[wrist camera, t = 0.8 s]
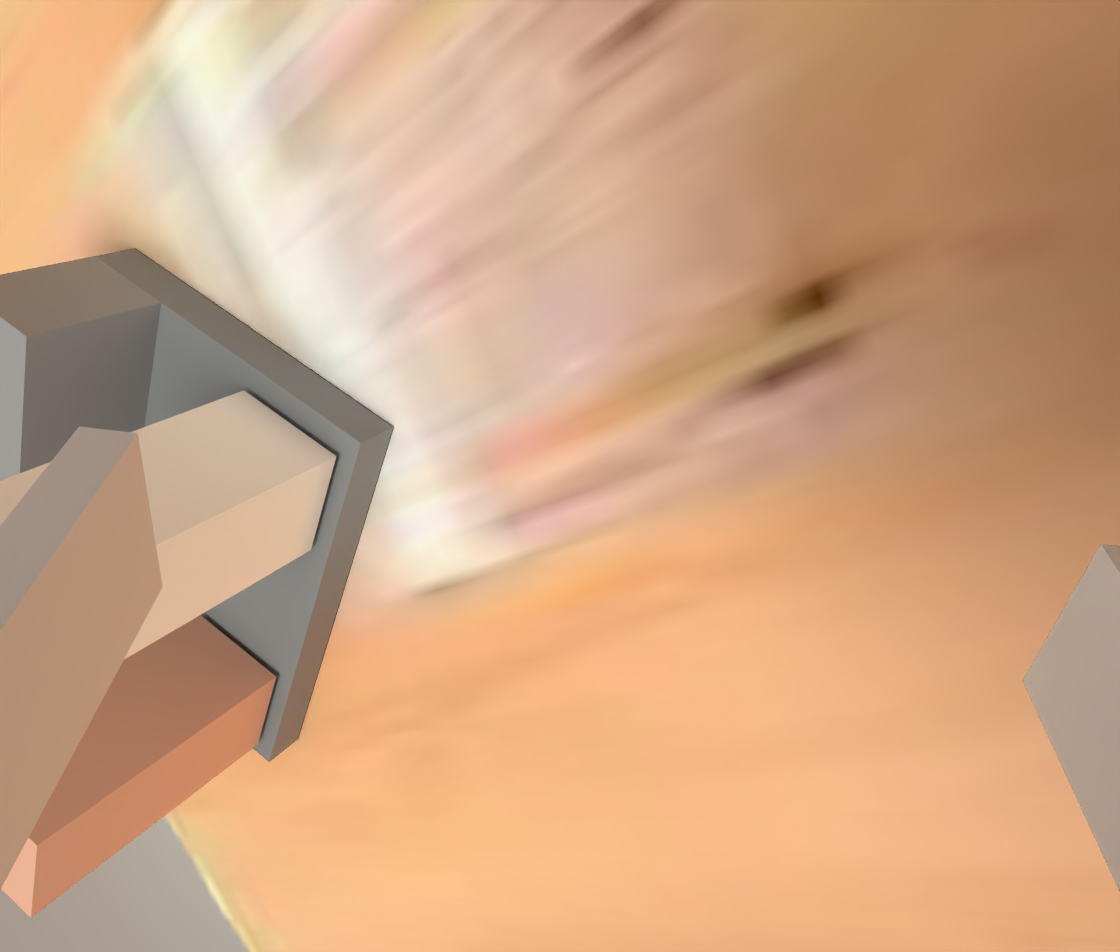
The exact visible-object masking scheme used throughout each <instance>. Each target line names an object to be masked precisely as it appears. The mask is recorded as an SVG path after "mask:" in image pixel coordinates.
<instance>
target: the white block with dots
mask: <svg viewBox="0 0 1120 952" xmlns="http://www.w3.org/2000/svg"><path fill="white" fill-rule="evenodd" d="M132 433H138V438H139V444H140V450H141V456H142V463H143V469H144V475H145V481H146V487H147V493H148V499H149V506H150V512H151V518H152V524H153V530H154V536H155V542H156V549H157V555H158V561H159V567H160V573H161V579H162V585H163V587H162V589H161V591H160V593H159V595H158V597H157V599H156V600H155V602H154V604H153V606H152V608H151V610H150V612H149V613H148V615H147V617H146V619H145V621H144V623H143V625H142V626H141V628H140V630H139V632H138V634H137V636H136V638H135V640H134V641H133V643H132V645H131V647H130V649H129V651H128V653H127V654H126V656H125V658H124V659H126V658H128V657H129V656H131V655H133V654H135V653H136V652H138V651H140V650H141V649H143V648H145V647H147V646H148V645H150V644H152V643H153V642H155V641H157V640H158V639H160V638H162V637H164V636H165V635H167V634H169V633H170V632H172V631H174V630H175V629H177V628H179V627H181V626H182V625H184V624H186V623H187V622H189V621H191V620H193V619H194V618H196V617H198V616H199V615H201V614H203V613H204V612H206V611H208V610H210V609H211V608H213V607H215V606H216V605H218V604H220V603H222V602H223V601H225V600H227V599H228V598H230V597H232V596H233V595H235V594H237V593H239V592H240V591H242V590H244V589H245V588H247V587H249V586H251V585H252V584H254V583H256V582H257V581H259V580H261V579H262V578H264V577H266V576H268V575H269V574H271V573H273V572H274V571H276V570H278V569H279V568H281V567H283V566H285V565H286V564H288V563H290V562H291V561H293V560H295V559H297V558H298V557H300V556H302V555H303V554H305V553H307V552H308V551H310V550H311V548H312V544H313V540H314V537H315V533H316V529H317V526H318V522H319V518H320V515H321V511H322V507H323V504H324V500H325V496H326V493H327V489H328V485H329V482H330V478H331V474H332V471H333V467H334V463H335V460H336V456H335V455H334V454H333V453H331V452H330V451H328V450H327V449H326V448H324V447H323V446H321V445H320V444H319V443H317V442H316V441H314V440H313V439H312V438H310V437H309V436H307V435H306V434H305V433H303V432H302V431H300V430H299V429H298V428H296V427H295V426H293V425H292V424H291V423H289V422H288V421H286V420H285V419H284V418H282V417H281V416H279V415H278V414H277V413H275V412H274V411H272V410H271V409H270V408H268V407H267V406H265V405H264V404H263V403H261V402H260V401H258V400H257V399H256V398H254V397H253V396H251V395H250V394H249V393H247V392H246V391H244V390H243V391H241V392H238V393H235V394H233V395H230V396H227V397H224V398H222V399H219V400H216V401H214V402H211V403H208V404H206V405H203V406H200V407H197V408H195V409H192V410H189V411H187V412H184V413H181V414H179V415H176V416H173V417H170V418H168V419H165V420H162V421H160V422H157V423H154V424H152V425H149V426H146V427H144V428H141V429H138V430H135V431H133V432H132ZM49 464H50V462H49V463H46V464H44V465H41V466H38V467H36V468H33V469H30V470H28V471H25V472H22V473H19V474H17V475H14V476H11V477H9V478H6V479H3V480H1V481H0V525H1V524H2V523H3V522H4V520H5V519H6V518H7V517H8V515H9V514H10V513H11V512H12V510H13V509H14V508H15V507H16V505H17V504H18V503H19V501H20V500H21V499H22V498H23V496H24V495H25V494H26V493H27V491H28V490H29V489H30V488H31V486H32V485H33V484H34V483H35V481H36V480H37V479H38V478H39V476H40V475H41V474H42V472H43V471H44V470H45V469H46V467H47V466H48V465H49Z"/></svg>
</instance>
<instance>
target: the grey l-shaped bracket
mask: <svg viewBox="0 0 1120 952" xmlns="http://www.w3.org/2000/svg"><path fill="white" fill-rule="evenodd" d="M243 390H244V391H246V392H247V393H249V394H250V395H251V396H253V397H254V398H256V399H257V400H258V401H260V402H261V403H263V404H264V405H265V406H267V407H268V408H270V409H271V410H272V411H274V412H275V413H277V414H278V415H279V416H281V417H282V418H284V419H285V420H286V421H288V422H289V423H291V424H292V425H293V426H295V427H296V428H298V429H299V430H300V431H302V432H303V433H305V434H306V435H307V436H309V437H310V438H312V439H313V440H314V441H316V442H317V443H319V444H320V445H321V446H323V447H324V448H326V449H327V450H328V451H330V452H331V453H333V454H334V455H335V456H336V460H335V463H334V467H333V471H332V474H331V478H330V482H329V485H328V489H327V493H326V496H325V500H324V504H323V507H322V511H321V515H320V518H319V522H318V526H317V529H316V533H315V537H314V540H313V544H312V548H311V550H310V551H308V552H307V553H305V554H303V555H302V556H300V557H298V558H297V559H295V560H293V561H291V562H290V563H288V564H286V565H285V566H283V567H281V568H279V569H278V570H276V571H274V572H273V573H271V574H269V575H268V576H266V577H264V578H262V579H261V580H259V581H257V582H256V583H254V584H252V585H251V586H249V587H247V588H245V589H244V590H242V591H240V592H239V593H237V594H235V595H233V596H232V597H230V598H228V599H227V600H225V601H223V602H222V603H220V604H218V605H216V606H215V607H213V608H211V609H210V610H208V611H206V612H204V613H203V614H201V616H202V617H203V618H205V619H206V620H207V621H208V622H209V623H211V624H212V625H213V626H214V627H216V628H217V629H218V630H219V631H221V632H222V633H223V634H224V635H226V636H227V637H228V638H229V639H230V640H232V641H233V642H234V643H235V644H237V645H238V646H239V647H240V648H242V649H243V650H244V651H245V652H246V653H248V654H249V655H250V656H251V657H253V658H254V659H255V660H256V661H258V662H259V663H260V664H261V665H262V666H264V667H265V668H266V669H267V670H269V671H270V672H271V673H272V674H274V675H275V676H276V680H275V683H274V687H273V691H272V694H271V698H270V702H269V705H268V709H267V713H266V716H265V720H264V724H263V727H262V731H261V735H260V738H259V742H258V744H257V745H256V746H255V747H254V748H253V749H254V750H256V751H257V752H258V753H259V754H260V755H262V756H263V757H264V758H265V759H266V760H267V761H269V762H270V761H271V760H272V759H274V758H275V757H276V756H277V755H279V754H280V753H281V752H282V751H284V750H285V749H286V748H287V747H289V746H290V745H291V744H292V743H294V742H295V741H296V740H297V739H298V737H299V734H300V730H301V727H302V724H303V721H304V717H305V714H306V711H307V707H308V704H309V701H310V698H311V694H312V691H313V688H314V685H315V681H316V678H317V675H318V672H319V668H320V665H321V662H322V659H323V655H324V652H325V649H326V646H327V642H328V639H329V636H330V633H331V629H332V626H333V623H334V620H335V616H336V613H337V610H338V606H339V603H340V600H341V597H342V593H343V590H344V587H345V584H346V580H347V577H348V574H349V571H350V567H351V564H352V561H353V558H354V554H355V551H356V548H357V545H358V541H359V538H360V535H361V532H362V528H363V525H364V522H365V519H366V515H367V512H368V509H369V506H370V502H371V499H372V496H373V492H374V489H375V486H376V483H377V479H378V476H379V473H380V470H381V466H382V463H383V460H384V457H385V453H386V450H387V447H388V444H389V440H390V437H391V434H392V431H393V426H391V425H390V424H389V423H387V422H386V421H384V420H383V419H381V418H380V417H378V416H377V415H375V414H374V413H373V412H371V411H370V410H368V409H367V408H365V407H364V406H362V405H361V404H360V403H358V402H357V401H355V400H354V399H352V398H351V397H349V396H348V395H346V394H345V393H344V392H342V391H341V390H339V389H338V388H336V387H335V386H333V385H332V384H331V383H329V382H328V381H326V380H325V379H323V378H322V377H320V376H319V375H317V374H316V373H315V372H313V371H312V370H310V369H309V368H307V367H306V366H304V365H303V364H302V363H300V362H299V361H297V360H296V359H294V358H293V357H291V356H290V355H288V354H287V353H286V352H284V351H283V350H281V349H280V348H278V347H277V346H275V345H274V344H273V343H271V342H270V341H268V340H267V339H265V338H264V337H262V336H261V335H259V334H258V333H257V332H255V331H254V330H252V329H251V328H249V327H248V326H246V325H245V324H244V323H242V322H241V321H239V320H238V319H236V318H235V317H233V316H232V315H230V314H229V313H228V312H226V311H225V310H223V309H222V308H220V307H219V306H217V305H216V304H215V303H213V302H212V301H210V300H209V299H207V298H206V297H204V296H203V295H201V294H200V293H199V292H197V291H196V290H194V289H193V288H191V287H190V286H188V285H187V284H186V283H184V282H183V281H181V280H180V279H178V278H177V277H175V276H174V275H172V274H171V273H170V272H168V271H167V270H165V269H164V268H162V267H161V266H159V265H158V264H157V263H155V262H154V261H152V260H151V259H149V258H148V257H146V256H145V255H143V254H142V253H141V252H139V251H138V250H136V249H130V250H125V251H120V252H115V253H110V254H105V255H100V256H94V257H89V258H84V259H79V260H74V261H69V262H64V263H58V264H53V265H48V266H43V267H38V268H33V269H27V270H22V271H17V272H12V273H7V274H2V275H0V481H1V480H3V479H6V478H9V477H11V476H14V475H17V474H19V473H22V472H25V471H28V470H30V469H33V468H36V467H38V466H41V465H44V464H46V463H49V462H51V461H52V460H53V459H54V457H55V456H56V455H57V454H58V452H59V451H60V450H61V449H62V447H63V446H64V445H65V444H66V442H67V441H68V440H69V438H70V437H71V436H72V435H73V433H74V432H75V431H76V430H77V428H78V427H79V426H80V427H89V428H97V429H106V430H115V431H123V432H133V431H135V430H138V429H141V428H144V427H146V426H149V425H152V424H154V423H157V422H160V421H162V420H165V419H168V418H170V417H173V416H176V415H179V414H181V413H184V412H187V411H189V410H192V409H195V408H197V407H200V406H203V405H206V404H208V403H211V402H214V401H216V400H219V399H222V398H224V397H227V396H230V395H233V394H235V393H238V392H241V391H243Z"/></svg>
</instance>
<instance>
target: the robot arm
mask: <svg viewBox="0 0 1120 952" xmlns="http://www.w3.org/2000/svg"><path fill="white" fill-rule="evenodd" d="M162 587H163V585H162V579H161V573H160V567H159V561H158V555H157V549H156V542H155V536H154V530H153V524H152V518H151V512H150V506H149V499H148V493H147V487H146V481H145V475H144V469H143V463H142V456H141V450H140V444H139V438H138V433H132V432H123V431H115V430H106V429H97V428H89V427H80V426H79V427H78V428H77V430H76V431H75V432H74V433H73V435H72V436H71V437H70V438H69V440H68V441H67V442H66V444H65V445H64V446H63V447H62V449H61V450H60V451H59V452H58V454H57V455H56V456H55V457H54V459H53V460H52V461H51V462H50V464H49V465H48V466H47V467H46V469H45V470H44V471H43V472H42V474H41V475H40V476H39V478H38V479H37V480H36V481H35V483H34V484H33V485H32V486H31V488H30V489H29V490H28V491H27V493H26V494H25V495H24V496H23V498H22V499H21V500H20V501H19V503H18V504H17V505H16V507H15V508H14V509H13V510H12V512H11V513H10V514H9V515H8V517H7V518H6V519H5V520H4V522H3V523H2V524H1V525H0V889H1V888H2V886H3V884H4V882H5V880H6V878H7V876H8V875H9V873H10V871H11V869H12V867H13V865H14V863H15V862H16V860H17V858H18V856H19V854H20V852H21V850H22V848H23V847H24V845H25V843H26V841H27V839H28V837H29V835H30V834H31V832H32V830H33V828H34V826H35V824H36V822H37V820H38V819H39V817H40V815H41V813H42V811H43V809H44V807H45V806H46V804H47V802H48V800H49V798H50V796H51V794H52V793H53V791H54V789H55V787H56V785H57V783H58V781H59V779H60V778H61V776H62V774H63V772H64V770H65V768H66V766H67V765H68V763H69V761H70V759H71V757H72V755H73V753H74V751H75V750H76V748H77V746H78V744H79V742H80V740H81V738H82V737H83V735H84V733H85V731H86V729H87V727H88V725H89V723H90V722H91V720H92V718H93V716H94V714H95V712H96V710H97V709H98V707H99V705H100V703H101V701H102V699H103V697H104V696H105V694H106V692H107V690H108V688H109V686H110V684H111V682H112V681H113V679H114V677H115V675H116V673H117V671H118V669H119V668H120V666H121V664H122V662H123V660H124V658H125V656H126V654H127V653H128V651H129V649H130V647H131V645H132V643H133V641H134V640H135V638H136V636H137V634H138V632H139V630H140V628H141V626H142V625H143V623H144V621H145V619H146V617H147V615H148V613H149V612H150V610H151V608H152V606H153V604H154V602H155V600H156V599H157V597H158V595H159V593H160V591H161V589H162ZM1023 683H1024V685H1025V687H1026V689H1027V692H1028V694H1029V696H1030V698H1031V700H1032V702H1033V705H1034V707H1035V709H1036V711H1037V713H1038V715H1039V718H1040V720H1041V722H1042V724H1043V726H1044V728H1045V731H1046V733H1047V735H1048V737H1049V739H1050V741H1051V744H1052V746H1053V748H1054V750H1055V752H1056V754H1057V757H1058V759H1059V761H1060V763H1061V765H1062V768H1063V770H1064V772H1065V774H1066V776H1067V778H1068V781H1069V783H1070V785H1071V787H1072V789H1073V791H1074V794H1075V796H1076V798H1077V800H1078V802H1079V804H1080V807H1081V809H1082V811H1083V813H1084V815H1085V817H1086V820H1087V822H1088V824H1089V826H1090V828H1091V830H1092V833H1093V835H1094V837H1095V839H1096V841H1097V844H1098V846H1099V848H1100V850H1101V852H1102V854H1103V857H1104V859H1105V861H1106V863H1107V865H1108V867H1109V870H1110V872H1111V874H1112V876H1113V878H1114V880H1115V883H1116V885H1117V887H1118V889H1119V891H1120V546H1112V545H1103V544H1101V545H1100V547H1099V549H1098V550H1097V552H1096V554H1095V556H1094V557H1093V559H1092V561H1091V563H1090V564H1089V566H1088V568H1087V570H1086V571H1085V573H1084V575H1083V577H1082V578H1081V580H1080V582H1079V583H1078V585H1077V587H1076V589H1075V590H1074V592H1073V594H1072V596H1071V597H1070V599H1069V601H1068V603H1067V604H1066V606H1065V608H1064V610H1063V611H1062V613H1061V615H1060V616H1059V618H1058V620H1057V622H1056V623H1055V625H1054V627H1053V629H1052V630H1051V632H1050V634H1049V636H1048V637H1047V639H1046V641H1045V643H1044V644H1043V646H1042V648H1041V650H1040V651H1039V653H1038V655H1037V656H1036V658H1035V660H1034V662H1033V663H1032V665H1031V667H1030V669H1029V670H1028V672H1027V674H1026V676H1025V677H1024V679H1023Z"/></svg>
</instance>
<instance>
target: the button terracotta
mask: <svg viewBox="0 0 1120 952" xmlns="http://www.w3.org/2000/svg"><path fill="white" fill-rule="evenodd" d="M275 680H276V676H275V675H274V674H272V673H271V672H270V671H269V670H267V669H266V668H265V667H264V666H262V665H261V664H260V663H259V662H258V661H256V660H255V659H254V658H253V657H251V656H250V655H249V654H248V653H246V652H245V651H244V650H243V649H242V648H240V647H239V646H238V645H237V644H235V643H234V642H233V641H232V640H230V639H229V638H228V637H227V636H226V635H224V634H223V633H222V632H221V631H219V630H218V629H217V628H216V627H214V626H213V625H212V624H211V623H209V622H208V621H207V620H206V619H205V618H203V617H202V616H201V615H199V616H198V617H196V618H194V619H193V620H191V621H189V622H187V623H186V624H184V625H182V626H181V627H179V628H177V629H175V630H174V631H172V632H170V633H169V634H167V635H165V636H164V637H162V638H160V639H158V640H157V641H155V642H153V643H152V644H150V645H148V646H147V647H145V648H143V649H141V650H140V651H138V652H136V653H135V654H133V655H131V656H129V657H128V658H126V659H124V660H123V662H122V664H121V666H120V668H119V669H118V671H117V673H116V675H115V677H114V679H113V681H112V682H111V684H110V686H109V688H108V690H107V692H106V694H105V696H104V697H103V699H102V701H101V703H100V705H99V707H98V709H97V710H96V712H95V714H94V716H93V718H92V720H91V722H90V723H89V725H88V727H87V729H86V731H85V733H84V735H83V737H82V738H81V740H80V742H79V744H78V746H77V748H76V750H75V751H74V753H73V755H72V757H71V759H70V761H69V763H68V765H67V766H66V768H65V770H64V772H63V774H62V776H61V778H60V779H59V781H58V783H57V785H56V787H55V789H54V791H53V793H52V794H51V796H50V798H49V800H48V802H47V804H46V806H45V807H44V809H43V811H42V813H41V815H40V817H39V819H38V820H37V822H36V824H35V826H34V828H33V830H32V832H31V834H30V835H29V837H28V839H27V841H26V843H25V845H24V847H23V848H22V850H21V852H20V854H19V856H18V858H17V860H16V862H15V863H14V865H13V867H12V869H11V871H10V873H9V875H8V876H7V878H6V880H5V882H4V884H3V886H2V888H1V889H2V890H3V891H4V892H5V893H6V894H7V895H8V896H9V897H10V898H11V899H12V900H14V902H15V903H16V904H17V905H19V907H20V908H21V909H22V910H24V911H25V913H27V915H28V916H30V917H31V918H32V917H33V916H34V915H35V914H37V913H38V912H39V911H41V910H42V909H43V908H45V907H46V906H47V905H49V904H50V903H51V902H53V901H54V900H55V899H56V898H58V897H59V896H60V895H62V894H63V893H64V892H66V891H67V890H68V889H69V888H71V887H72V886H73V885H75V884H76V883H77V882H78V881H80V880H81V879H82V878H84V877H85V876H86V875H88V874H89V873H90V872H91V871H93V870H94V869H95V868H97V867H98V866H100V865H101V864H102V863H103V862H105V861H106V860H107V859H109V858H110V857H111V856H113V855H114V854H115V853H117V852H118V851H119V850H120V849H122V848H123V847H124V846H125V845H127V844H128V843H130V842H131V841H132V840H133V839H135V838H136V837H137V836H139V835H140V834H141V833H142V832H144V831H145V830H147V829H148V828H149V827H150V826H152V825H153V824H154V823H156V822H157V821H158V820H160V819H161V818H162V817H164V816H165V815H166V814H167V813H169V812H170V811H171V810H173V809H174V808H175V807H177V806H178V805H179V804H180V803H182V802H183V801H184V800H186V799H187V798H188V797H190V796H191V795H192V794H194V793H195V792H196V791H197V790H199V789H200V788H201V787H203V786H204V785H205V784H207V783H208V782H209V781H211V780H212V779H213V778H214V777H216V776H217V775H218V774H220V773H221V772H222V771H224V770H225V769H226V768H227V767H229V766H230V765H231V764H233V763H234V762H235V761H237V760H238V759H239V758H241V757H242V756H243V755H244V754H246V753H247V752H248V751H250V750H251V749H252V748H254V747H255V746H256V745H257V744H258V742H259V738H260V735H261V731H262V727H263V724H264V720H265V716H266V713H267V709H268V705H269V702H270V698H271V694H272V691H273V687H274V683H275Z"/></svg>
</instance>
